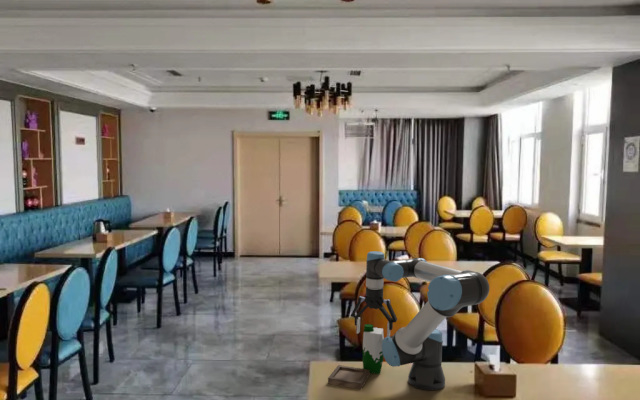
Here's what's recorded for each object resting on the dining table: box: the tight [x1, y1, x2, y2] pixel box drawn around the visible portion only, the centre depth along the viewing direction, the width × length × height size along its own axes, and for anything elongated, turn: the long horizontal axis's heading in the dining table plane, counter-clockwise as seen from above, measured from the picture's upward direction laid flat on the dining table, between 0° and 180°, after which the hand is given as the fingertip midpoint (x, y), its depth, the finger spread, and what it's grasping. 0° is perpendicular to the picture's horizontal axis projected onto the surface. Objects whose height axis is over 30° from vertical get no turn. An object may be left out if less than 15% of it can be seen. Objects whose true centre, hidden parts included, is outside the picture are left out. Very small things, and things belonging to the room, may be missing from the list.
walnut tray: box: [327, 364, 370, 390], centre depth 222 cm, size 14×14×2 cm
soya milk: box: [362, 323, 385, 375], centre depth 231 cm, size 9×9×20 cm
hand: (373, 334), depth 231 cm, fingers open, 13 cm apart
